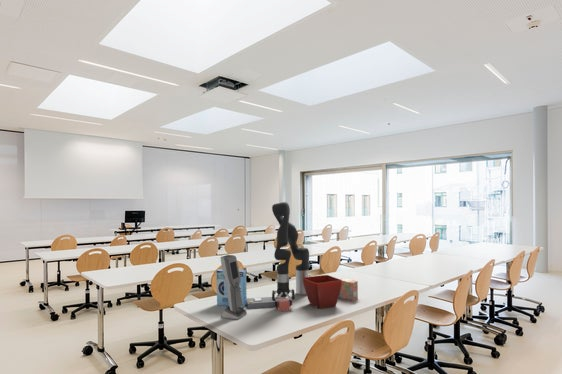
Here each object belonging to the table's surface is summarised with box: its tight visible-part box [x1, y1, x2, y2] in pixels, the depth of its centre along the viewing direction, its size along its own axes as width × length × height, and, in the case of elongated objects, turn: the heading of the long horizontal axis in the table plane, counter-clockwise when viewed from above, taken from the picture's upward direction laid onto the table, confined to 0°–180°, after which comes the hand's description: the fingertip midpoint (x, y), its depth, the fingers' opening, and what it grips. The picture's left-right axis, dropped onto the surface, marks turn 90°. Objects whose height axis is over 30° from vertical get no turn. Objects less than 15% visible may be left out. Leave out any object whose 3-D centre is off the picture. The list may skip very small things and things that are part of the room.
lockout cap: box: [277, 297, 291, 312], centre depth 214 cm, size 7×8×5 cm
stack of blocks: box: [338, 278, 359, 301], centre depth 239 cm, size 21×6×12 cm, turn 48°
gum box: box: [216, 268, 248, 308], centre depth 223 cm, size 20×5×23 cm, turn 72°
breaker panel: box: [246, 296, 287, 309], centre depth 223 cm, size 26×12×4 cm, turn 100°
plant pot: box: [303, 274, 342, 309], centre depth 221 cm, size 19×19×17 cm
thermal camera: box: [220, 254, 248, 321], centre depth 203 cm, size 12×13×35 cm
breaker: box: [253, 297, 262, 302], centre depth 222 cm, size 4×5×2 cm
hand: (283, 306), depth 214 cm, fingers open, 8 cm apart
